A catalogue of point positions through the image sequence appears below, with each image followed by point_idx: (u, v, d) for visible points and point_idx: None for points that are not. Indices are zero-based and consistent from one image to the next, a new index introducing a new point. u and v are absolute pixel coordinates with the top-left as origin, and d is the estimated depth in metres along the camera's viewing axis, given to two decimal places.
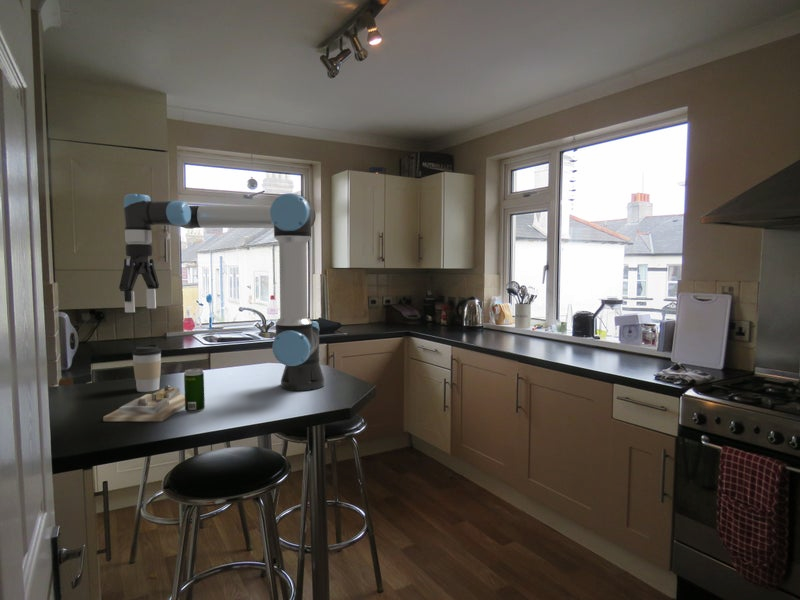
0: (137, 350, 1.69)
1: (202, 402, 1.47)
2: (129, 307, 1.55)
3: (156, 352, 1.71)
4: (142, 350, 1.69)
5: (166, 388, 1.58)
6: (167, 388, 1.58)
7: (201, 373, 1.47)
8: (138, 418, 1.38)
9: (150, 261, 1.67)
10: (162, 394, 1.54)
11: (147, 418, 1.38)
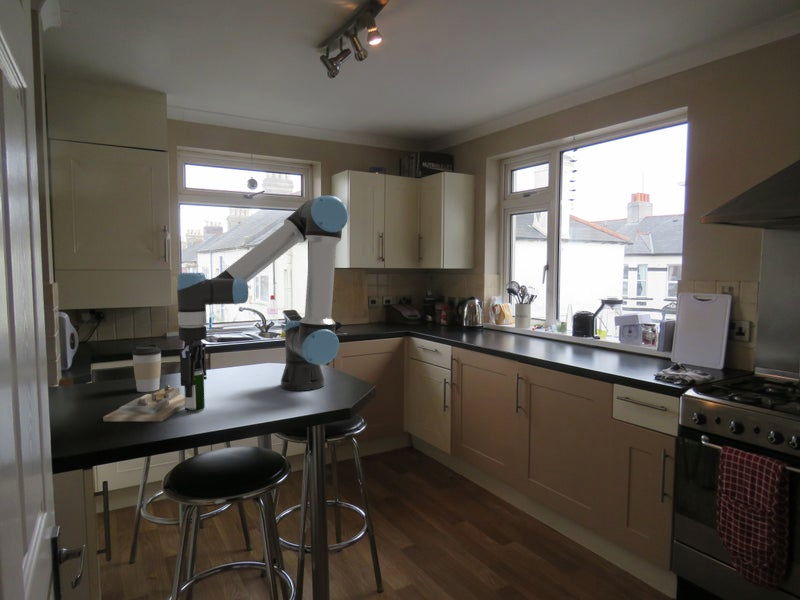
0: (137, 350, 1.69)
1: (202, 402, 1.47)
2: (190, 402, 1.45)
3: (156, 352, 1.71)
4: (142, 350, 1.69)
5: (166, 388, 1.58)
6: (167, 388, 1.58)
7: (201, 373, 1.47)
8: (138, 418, 1.38)
9: (203, 345, 1.52)
10: (162, 394, 1.54)
11: (147, 418, 1.38)
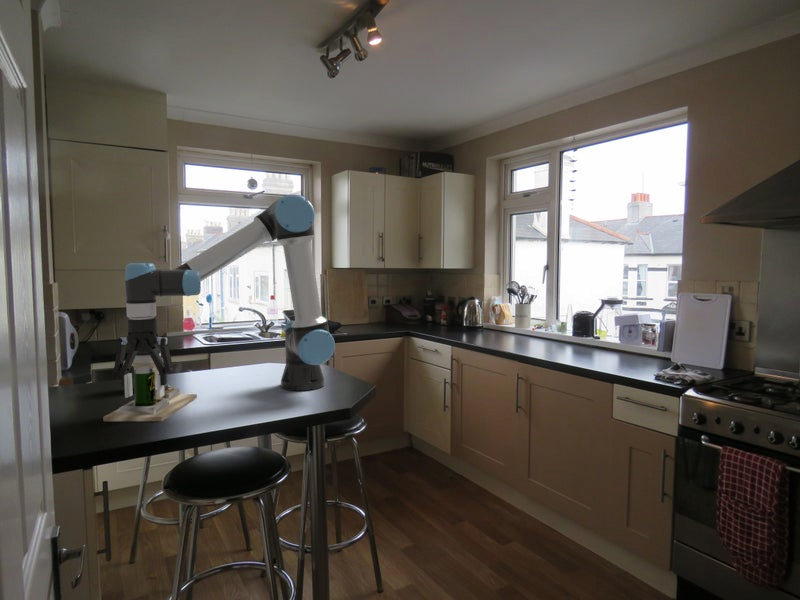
0: None
1: (138, 402, 1.42)
2: None
3: None
4: (142, 350, 1.69)
5: (166, 388, 1.58)
6: (167, 388, 1.58)
7: (137, 372, 1.42)
8: (138, 418, 1.38)
9: None
10: None
11: (147, 418, 1.38)
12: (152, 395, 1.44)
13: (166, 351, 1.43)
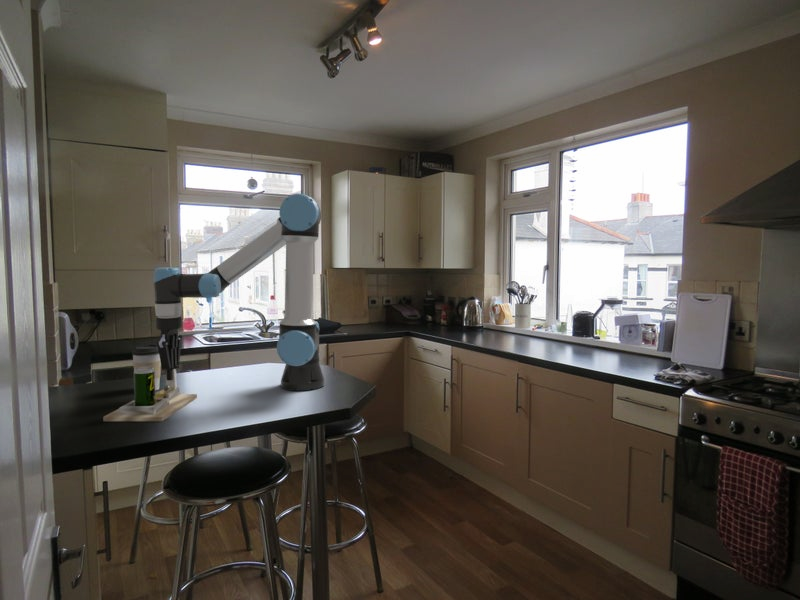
0: (137, 350, 1.69)
1: (138, 402, 1.42)
2: (171, 385, 1.62)
3: (156, 352, 1.71)
4: (142, 350, 1.69)
5: (166, 388, 1.58)
6: (167, 388, 1.58)
7: (137, 372, 1.42)
8: (138, 418, 1.38)
9: (179, 336, 1.66)
10: (162, 394, 1.54)
11: (147, 418, 1.38)
12: (152, 395, 1.44)
13: None
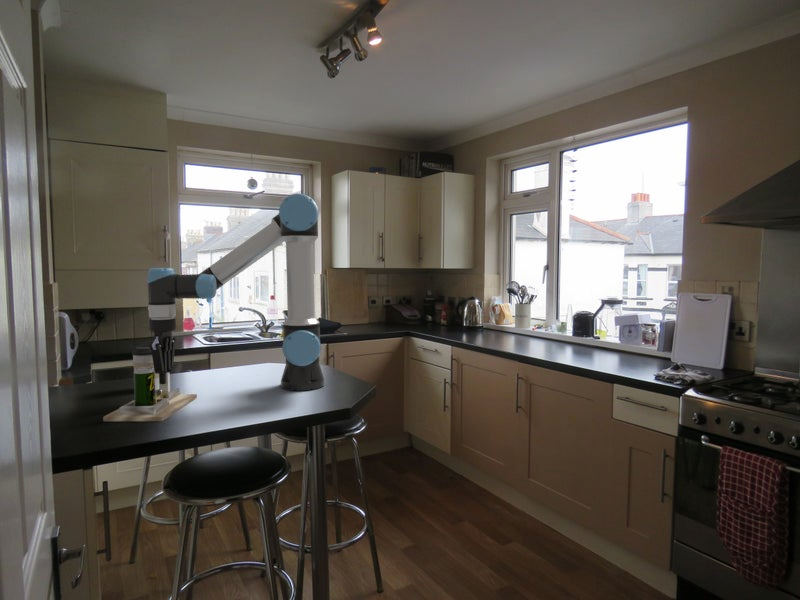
0: (137, 350, 1.69)
1: (138, 402, 1.42)
2: (164, 389, 1.57)
3: None
4: (142, 350, 1.69)
5: (158, 392, 1.53)
6: (159, 392, 1.53)
7: (137, 372, 1.42)
8: (138, 418, 1.38)
9: (173, 339, 1.61)
10: None
11: (147, 418, 1.38)
12: (152, 395, 1.44)
13: None
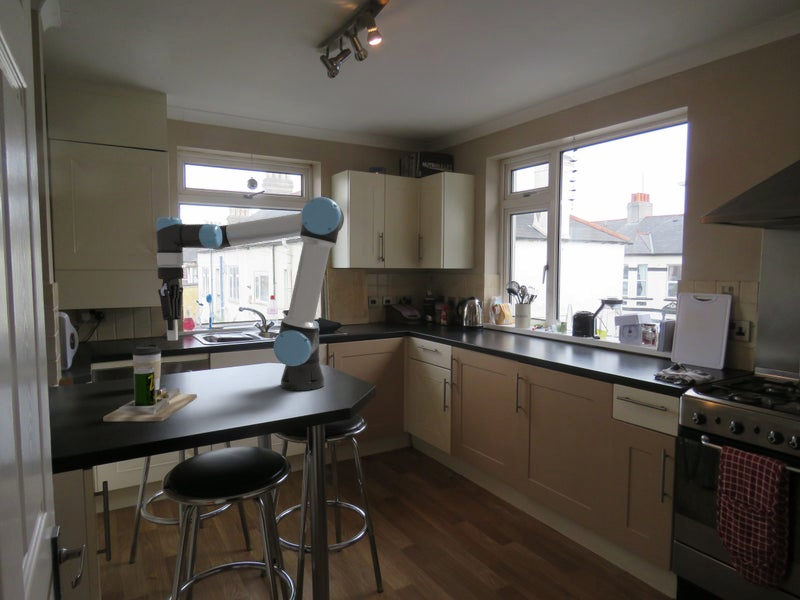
0: (137, 350, 1.69)
1: (138, 402, 1.42)
2: (171, 335, 1.62)
3: (156, 352, 1.71)
4: (142, 350, 1.69)
5: (158, 392, 1.53)
6: (159, 392, 1.53)
7: (137, 372, 1.42)
8: (138, 418, 1.38)
9: (180, 288, 1.67)
10: None
11: (147, 418, 1.38)
12: (152, 395, 1.44)
13: None
